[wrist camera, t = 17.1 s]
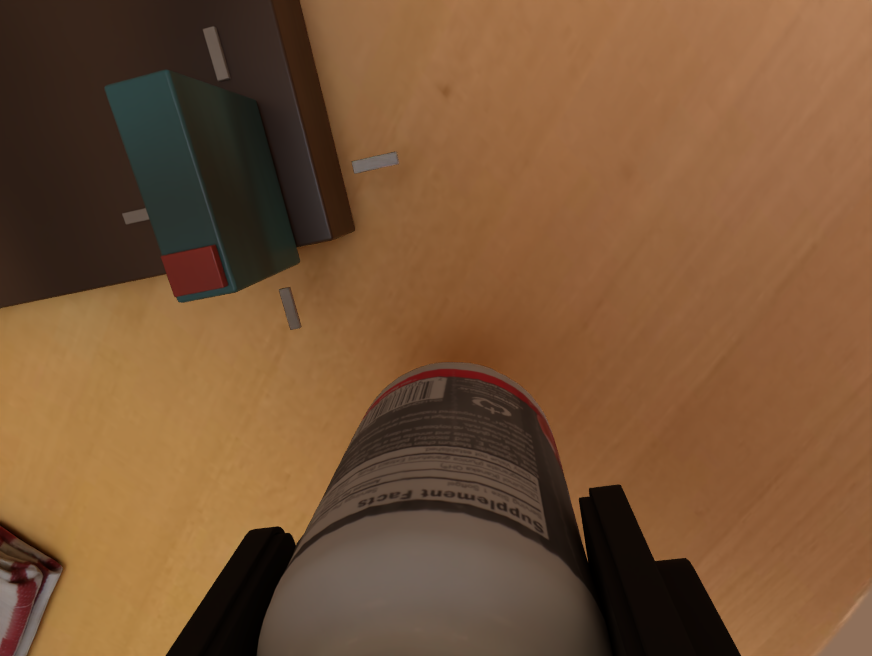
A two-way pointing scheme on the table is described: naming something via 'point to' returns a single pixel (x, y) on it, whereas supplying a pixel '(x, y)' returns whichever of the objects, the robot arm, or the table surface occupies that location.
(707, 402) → the table surface
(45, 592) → the dish towel
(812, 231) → the table surface
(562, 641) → the pill bottle
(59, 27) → the holder base
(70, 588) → the table surface
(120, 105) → the teal long angular block
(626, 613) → the robot arm
